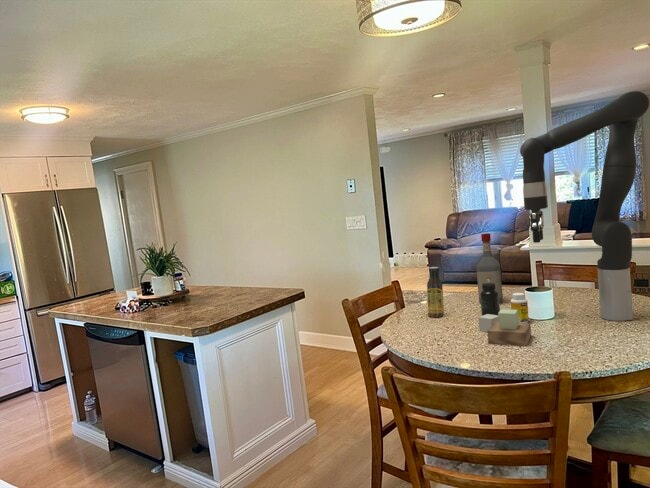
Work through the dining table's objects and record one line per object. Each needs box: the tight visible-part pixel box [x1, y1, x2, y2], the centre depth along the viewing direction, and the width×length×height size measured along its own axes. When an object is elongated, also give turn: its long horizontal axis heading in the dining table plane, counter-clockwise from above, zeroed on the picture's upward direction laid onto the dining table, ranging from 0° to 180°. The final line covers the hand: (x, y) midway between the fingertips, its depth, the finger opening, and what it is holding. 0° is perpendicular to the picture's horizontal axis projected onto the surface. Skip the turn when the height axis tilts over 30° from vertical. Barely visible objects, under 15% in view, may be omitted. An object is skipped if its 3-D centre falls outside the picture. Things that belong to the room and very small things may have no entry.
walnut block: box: [486, 322, 532, 346], centre depth 142 cm, size 11×11×4 cm
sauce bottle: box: [426, 266, 445, 318], centre depth 179 cm, size 7×6×20 cm
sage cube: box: [498, 308, 519, 329], centre depth 141 cm, size 5×5×5 cm
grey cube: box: [477, 314, 499, 333], centre depth 153 cm, size 5×5×5 cm
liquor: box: [476, 232, 504, 305], centre depth 191 cm, size 9×9×30 cm
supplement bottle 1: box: [480, 283, 501, 316], centre depth 173 cm, size 7×7×12 cm
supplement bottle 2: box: [510, 292, 530, 323], centre depth 159 cm, size 6×6×10 cm
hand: (538, 241), depth 159 cm, fingers open, 8 cm apart
